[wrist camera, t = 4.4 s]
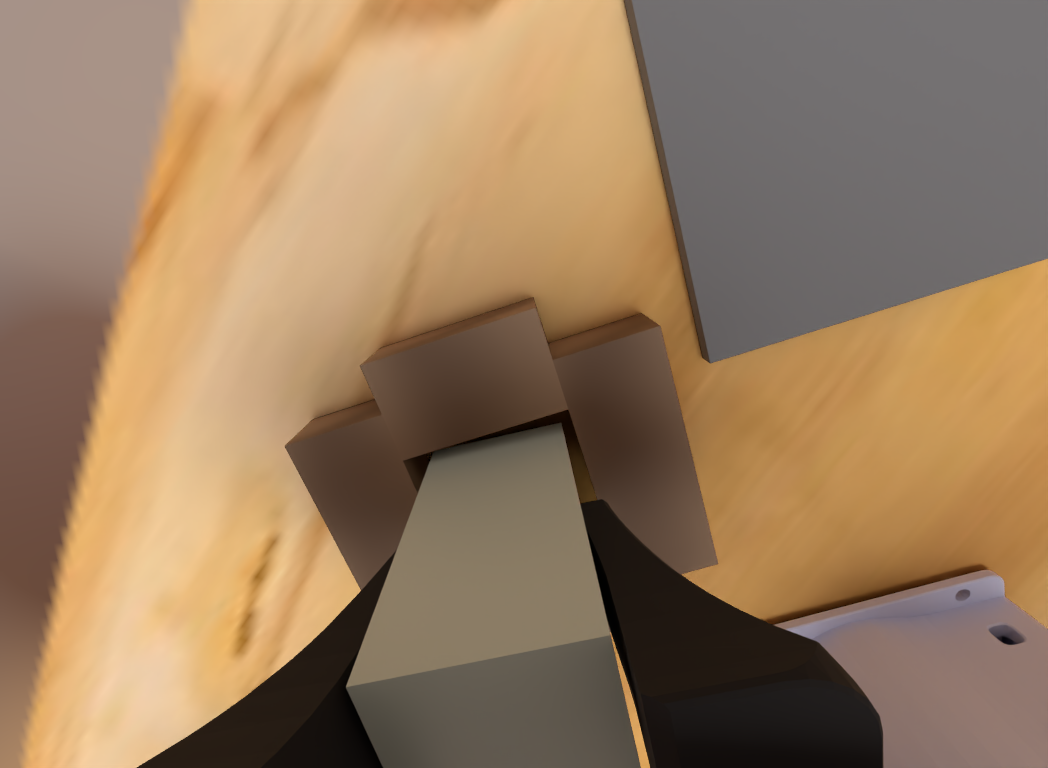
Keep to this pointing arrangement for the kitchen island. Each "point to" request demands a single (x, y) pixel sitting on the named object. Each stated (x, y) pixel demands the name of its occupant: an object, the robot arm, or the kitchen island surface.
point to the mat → (843, 153)
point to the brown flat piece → (502, 402)
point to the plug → (494, 622)
